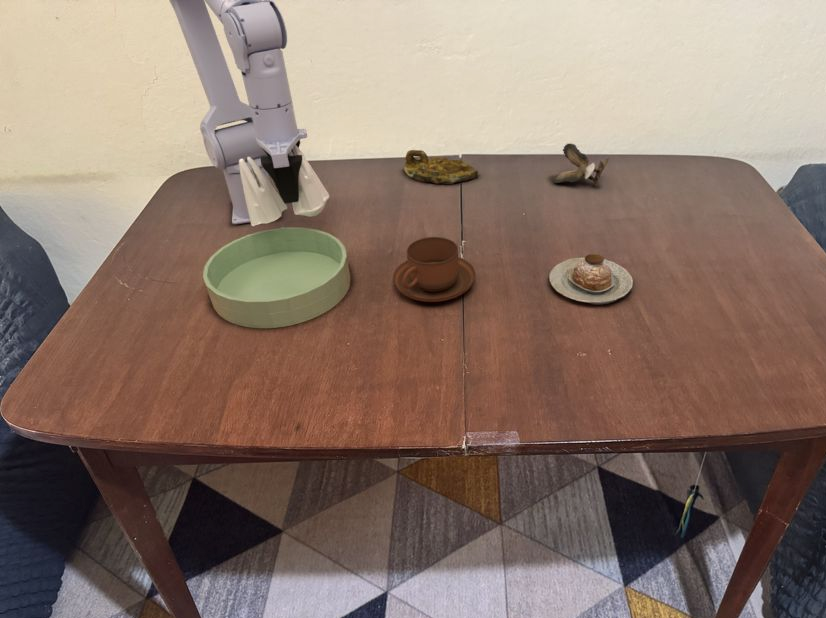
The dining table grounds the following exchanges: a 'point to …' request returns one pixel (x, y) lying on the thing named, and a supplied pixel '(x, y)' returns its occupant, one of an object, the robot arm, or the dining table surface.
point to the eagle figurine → (579, 166)
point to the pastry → (591, 280)
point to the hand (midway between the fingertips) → (290, 194)
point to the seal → (437, 169)
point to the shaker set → (268, 202)
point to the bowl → (277, 277)
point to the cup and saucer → (433, 271)
